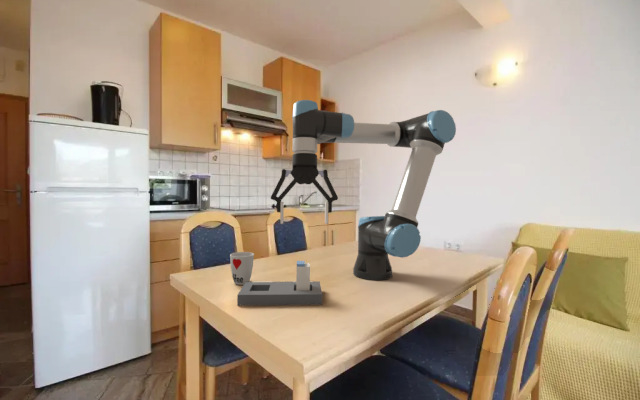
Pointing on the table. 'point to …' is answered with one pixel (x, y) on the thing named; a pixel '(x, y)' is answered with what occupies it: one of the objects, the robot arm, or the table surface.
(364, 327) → the table surface
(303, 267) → the plug
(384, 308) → the table surface
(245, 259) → the cup
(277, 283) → the panel
